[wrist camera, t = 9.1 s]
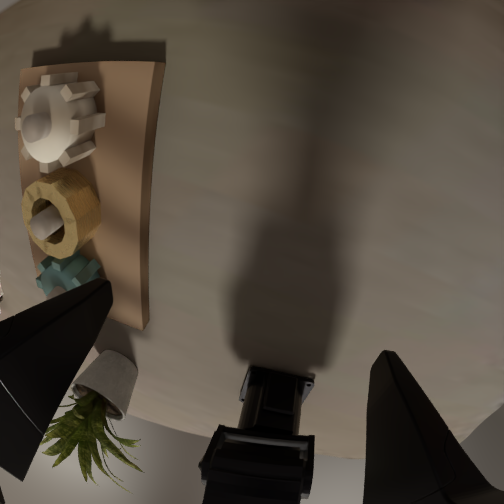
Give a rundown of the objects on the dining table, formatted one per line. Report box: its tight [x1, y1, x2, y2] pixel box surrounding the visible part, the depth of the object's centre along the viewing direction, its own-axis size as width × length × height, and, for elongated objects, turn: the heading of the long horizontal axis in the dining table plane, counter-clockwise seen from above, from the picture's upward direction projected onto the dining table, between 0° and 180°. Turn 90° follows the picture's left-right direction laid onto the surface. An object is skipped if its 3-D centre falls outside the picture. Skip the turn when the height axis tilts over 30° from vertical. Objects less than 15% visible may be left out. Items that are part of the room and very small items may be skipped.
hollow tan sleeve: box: [21, 168, 101, 259], centre depth 19 cm, size 6×6×3 cm
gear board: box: [15, 61, 166, 331], centre depth 20 cm, size 22×13×6 cm, turn 169°
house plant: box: [40, 350, 142, 491], centre depth 27 cm, size 14×14×16 cm
